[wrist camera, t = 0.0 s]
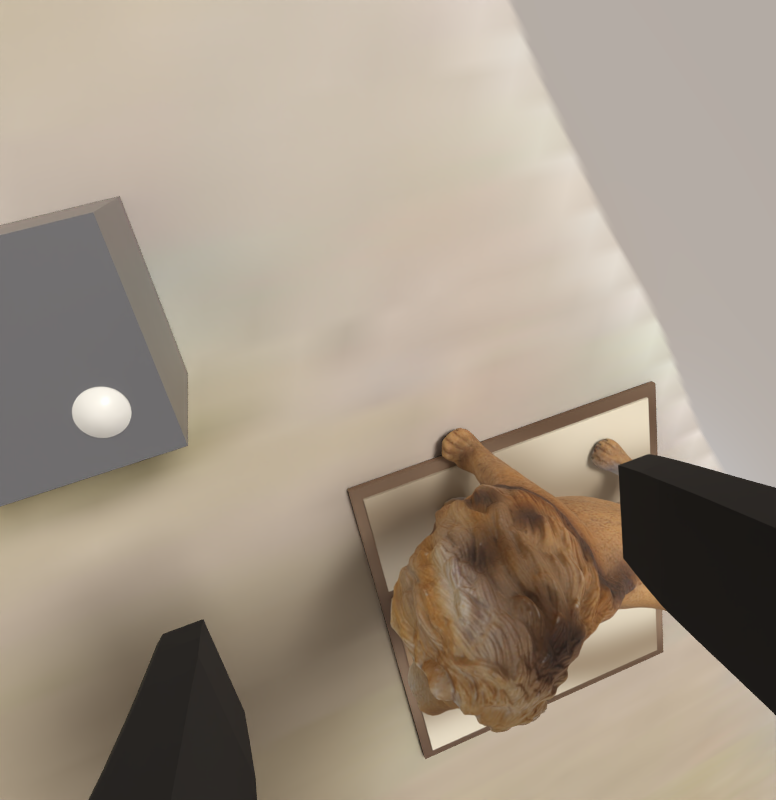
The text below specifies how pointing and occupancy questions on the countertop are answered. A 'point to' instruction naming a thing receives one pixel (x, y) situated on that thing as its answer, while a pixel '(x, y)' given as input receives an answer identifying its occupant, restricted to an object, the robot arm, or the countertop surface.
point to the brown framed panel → (552, 471)
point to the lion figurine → (509, 589)
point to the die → (82, 352)
